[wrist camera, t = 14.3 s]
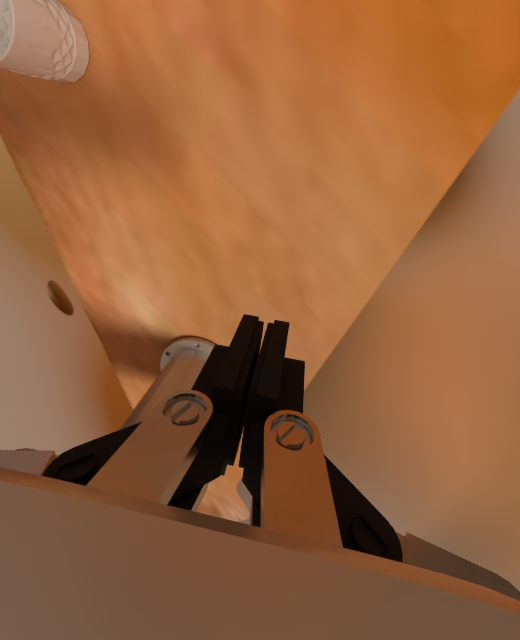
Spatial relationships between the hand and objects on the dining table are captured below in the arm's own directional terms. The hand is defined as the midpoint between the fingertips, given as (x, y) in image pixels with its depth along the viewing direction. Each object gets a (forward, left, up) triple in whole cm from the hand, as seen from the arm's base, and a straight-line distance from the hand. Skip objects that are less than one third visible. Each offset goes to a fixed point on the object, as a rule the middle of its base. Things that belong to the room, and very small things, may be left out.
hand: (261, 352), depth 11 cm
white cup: (+14, +28, -29) cm, 43 cm away
